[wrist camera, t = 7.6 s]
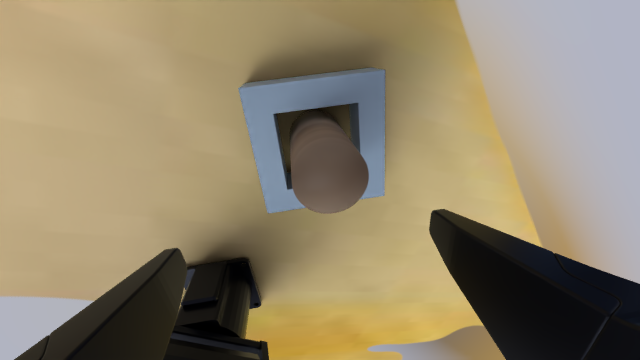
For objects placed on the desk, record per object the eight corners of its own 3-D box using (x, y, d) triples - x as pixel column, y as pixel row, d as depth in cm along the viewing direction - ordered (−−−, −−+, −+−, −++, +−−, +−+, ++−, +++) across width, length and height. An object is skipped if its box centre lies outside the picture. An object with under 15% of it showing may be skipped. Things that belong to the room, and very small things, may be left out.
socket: (372, 178, 23) (384, 195, 20) (270, 194, 22) (267, 213, 20) (371, 67, 19) (385, 69, 16) (245, 83, 18) (238, 88, 16)
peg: (341, 155, 22) (369, 207, 14) (293, 162, 21) (297, 218, 14) (338, 106, 20) (368, 137, 13) (285, 113, 19) (285, 149, 12)
